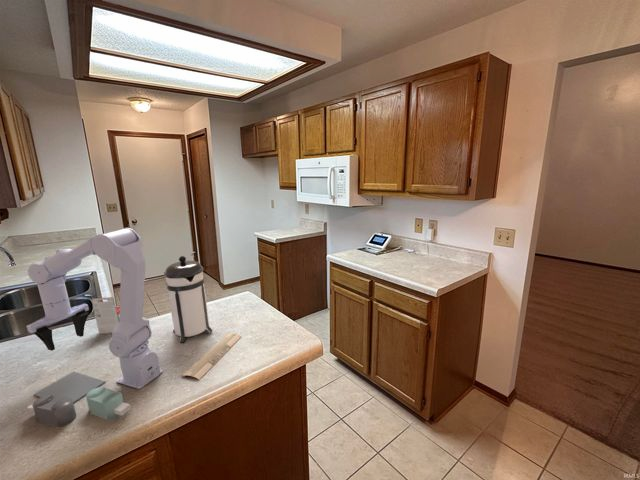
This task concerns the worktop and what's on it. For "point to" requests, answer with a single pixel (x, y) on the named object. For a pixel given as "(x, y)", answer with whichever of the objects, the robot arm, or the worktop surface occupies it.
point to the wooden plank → (212, 356)
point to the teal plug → (106, 403)
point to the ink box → (106, 314)
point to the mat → (71, 386)
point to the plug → (53, 410)
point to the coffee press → (187, 298)
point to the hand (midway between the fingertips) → (66, 342)
